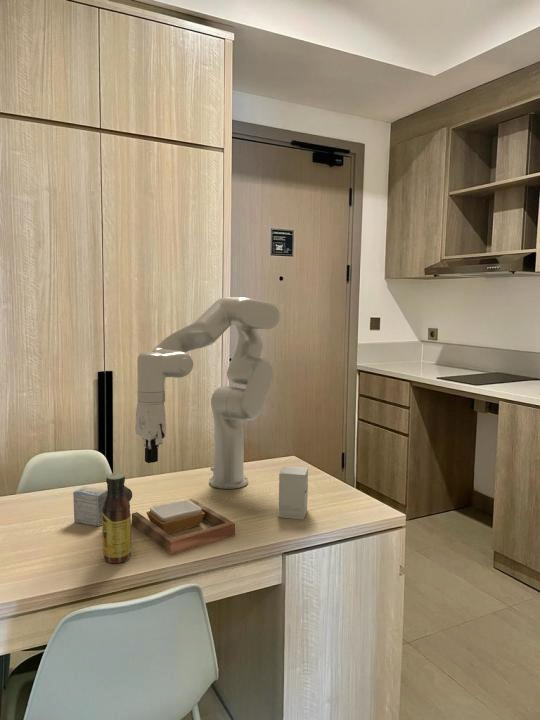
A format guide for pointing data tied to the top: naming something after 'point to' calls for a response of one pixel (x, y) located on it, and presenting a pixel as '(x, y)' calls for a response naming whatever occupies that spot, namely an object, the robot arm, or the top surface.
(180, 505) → the soap dish
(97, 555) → the top surface
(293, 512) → the supplement box
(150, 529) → the bay
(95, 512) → the medicine box
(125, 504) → the sauce bottle
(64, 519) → the top surface
